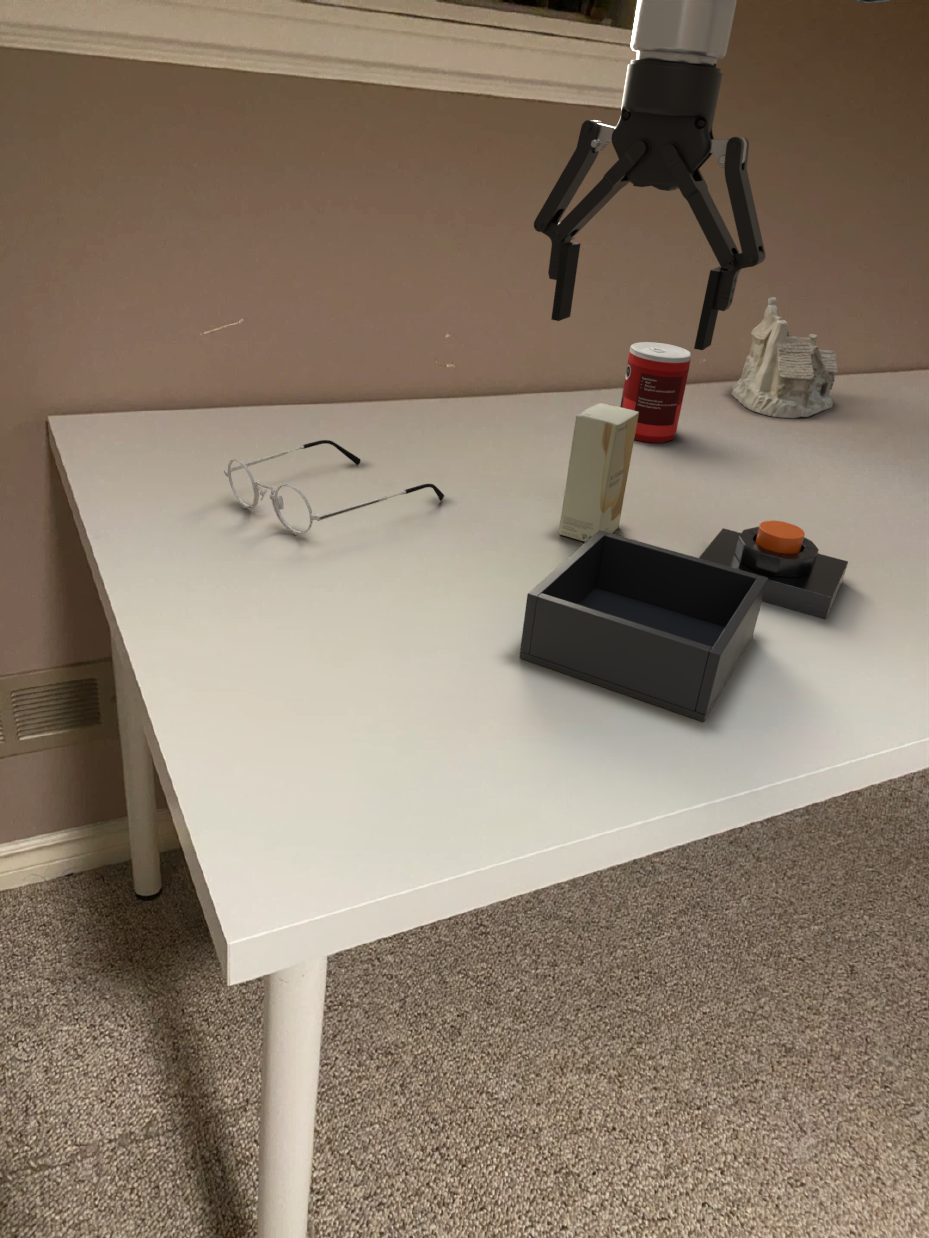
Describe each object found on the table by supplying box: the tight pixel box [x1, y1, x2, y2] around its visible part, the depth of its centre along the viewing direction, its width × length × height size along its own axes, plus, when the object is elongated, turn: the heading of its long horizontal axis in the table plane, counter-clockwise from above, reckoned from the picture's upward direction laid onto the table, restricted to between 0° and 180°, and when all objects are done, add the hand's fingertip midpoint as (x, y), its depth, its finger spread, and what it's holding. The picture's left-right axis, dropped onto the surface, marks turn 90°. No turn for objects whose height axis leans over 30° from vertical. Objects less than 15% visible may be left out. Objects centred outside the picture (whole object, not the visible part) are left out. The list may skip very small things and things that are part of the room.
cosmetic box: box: [558, 402, 639, 543], centre depth 92 cm, size 6×4×12 cm
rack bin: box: [519, 530, 768, 723], centre depth 74 cm, size 15×15×6 cm
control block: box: [698, 526, 849, 620], centre depth 87 cm, size 12×9×4 cm
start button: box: [755, 520, 806, 554], centre depth 86 cm, size 4×4×2 cm
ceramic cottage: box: [731, 296, 838, 419], centre depth 141 cm, size 16×16×15 cm
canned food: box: [619, 341, 692, 444], centre depth 122 cm, size 8×8×11 cm
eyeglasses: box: [223, 439, 445, 536], centre depth 95 cm, size 16×19×5 cm
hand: (629, 332), depth 85 cm, fingers open, 13 cm apart
